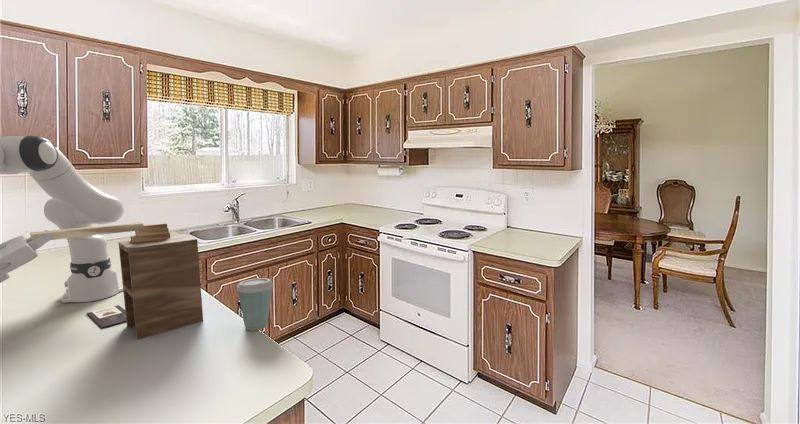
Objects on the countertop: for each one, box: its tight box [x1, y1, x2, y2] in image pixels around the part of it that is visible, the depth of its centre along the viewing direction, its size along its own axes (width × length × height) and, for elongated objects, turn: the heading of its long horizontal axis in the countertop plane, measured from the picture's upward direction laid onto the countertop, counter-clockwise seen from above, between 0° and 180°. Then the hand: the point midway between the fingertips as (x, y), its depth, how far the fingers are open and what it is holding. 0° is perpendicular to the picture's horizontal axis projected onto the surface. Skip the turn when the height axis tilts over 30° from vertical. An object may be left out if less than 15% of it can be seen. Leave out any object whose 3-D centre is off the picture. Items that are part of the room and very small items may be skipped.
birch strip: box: [29, 221, 144, 241], centre depth 105 cm, size 4×24×2 cm, turn 137°
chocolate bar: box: [86, 305, 127, 330], centre depth 126 cm, size 9×1×18 cm
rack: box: [117, 222, 204, 340], centre depth 119 cm, size 13×18×32 cm
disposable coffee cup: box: [236, 277, 274, 331], centre depth 118 cm, size 11×11×15 cm
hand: (50, 233), depth 99 cm, fingers closed on birch strip, 3 cm apart
